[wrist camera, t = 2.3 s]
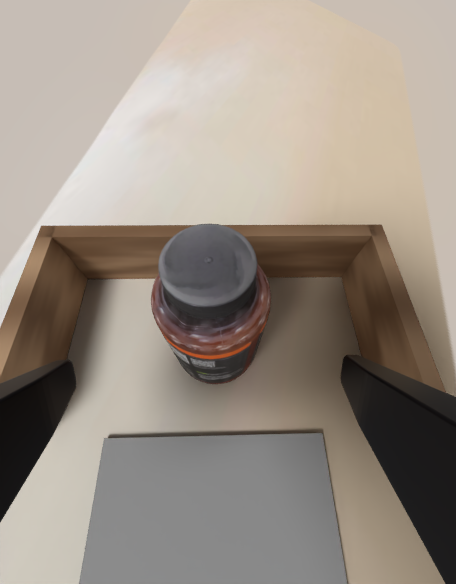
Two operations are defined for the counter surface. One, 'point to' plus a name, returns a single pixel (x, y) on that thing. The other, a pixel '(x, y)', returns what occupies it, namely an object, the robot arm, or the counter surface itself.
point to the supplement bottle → (211, 301)
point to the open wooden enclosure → (270, 257)
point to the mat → (214, 512)
